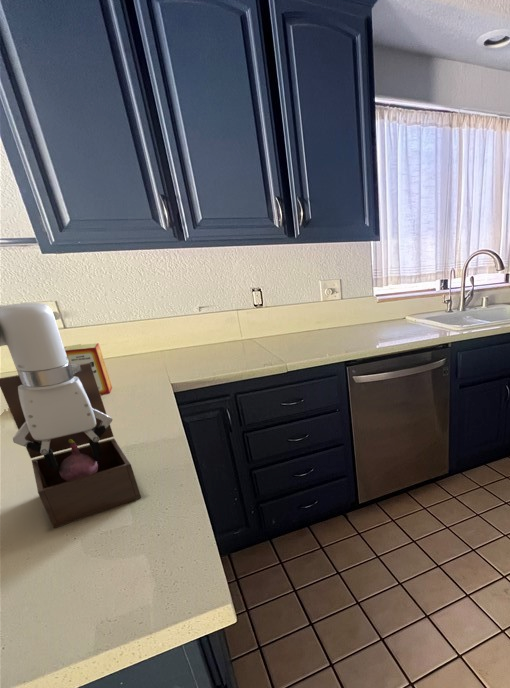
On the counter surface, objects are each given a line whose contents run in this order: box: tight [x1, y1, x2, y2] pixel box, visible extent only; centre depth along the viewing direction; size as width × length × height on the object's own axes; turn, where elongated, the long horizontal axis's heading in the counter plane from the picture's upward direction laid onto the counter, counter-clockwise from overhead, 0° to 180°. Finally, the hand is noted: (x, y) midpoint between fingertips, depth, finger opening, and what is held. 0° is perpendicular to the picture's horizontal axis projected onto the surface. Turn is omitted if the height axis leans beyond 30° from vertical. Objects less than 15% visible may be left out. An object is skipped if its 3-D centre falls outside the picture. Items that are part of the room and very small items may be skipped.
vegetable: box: [59, 439, 98, 481], centre depth 84 cm, size 6×6×10 cm
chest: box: [31, 437, 142, 529], centre depth 85 cm, size 16×15×8 cm
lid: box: [0, 363, 115, 459], centre depth 87 cm, size 16×15×5 cm
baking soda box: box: [64, 342, 113, 396], centre depth 141 cm, size 10×6×16 cm
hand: (76, 463), depth 83 cm, fingers closed on vegetable, 6 cm apart
